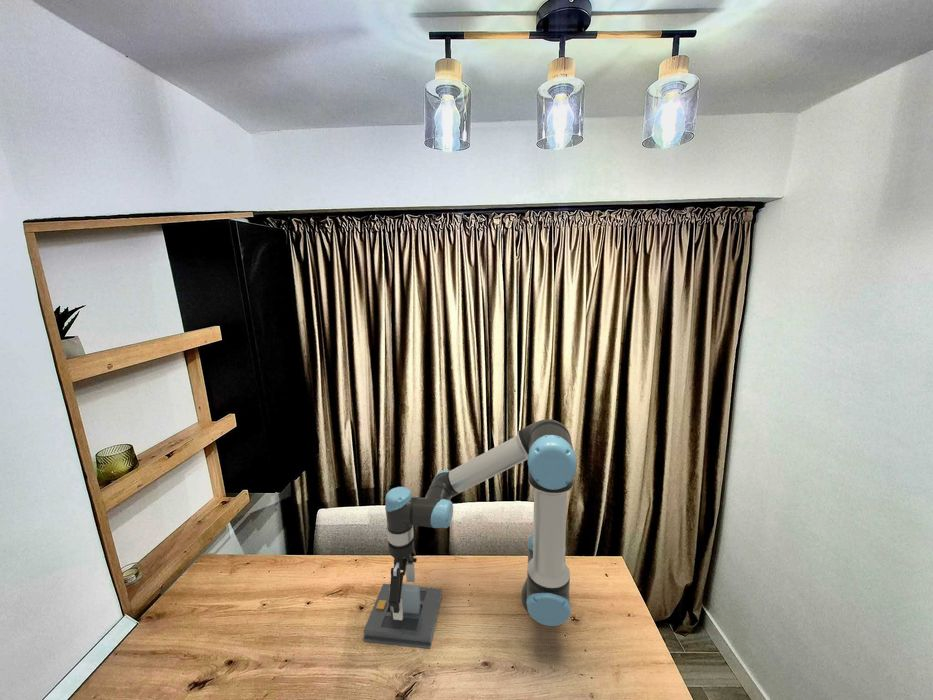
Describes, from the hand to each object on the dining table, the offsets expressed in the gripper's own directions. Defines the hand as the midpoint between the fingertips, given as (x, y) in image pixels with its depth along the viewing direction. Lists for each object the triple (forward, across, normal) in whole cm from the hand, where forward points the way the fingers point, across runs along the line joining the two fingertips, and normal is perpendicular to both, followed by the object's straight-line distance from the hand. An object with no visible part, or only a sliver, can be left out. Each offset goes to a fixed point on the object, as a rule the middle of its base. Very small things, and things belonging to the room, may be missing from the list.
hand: (404, 598), depth 114 cm
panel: (+6, 0, 0) cm, 6 cm away
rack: (+7, 0, 0) cm, 7 cm away
